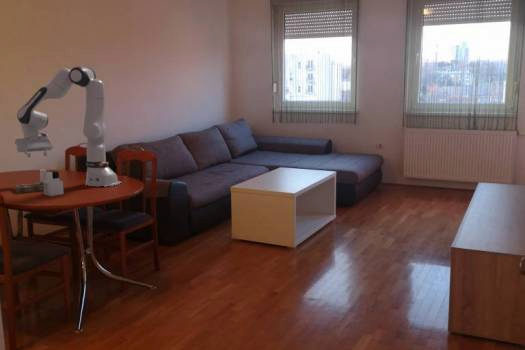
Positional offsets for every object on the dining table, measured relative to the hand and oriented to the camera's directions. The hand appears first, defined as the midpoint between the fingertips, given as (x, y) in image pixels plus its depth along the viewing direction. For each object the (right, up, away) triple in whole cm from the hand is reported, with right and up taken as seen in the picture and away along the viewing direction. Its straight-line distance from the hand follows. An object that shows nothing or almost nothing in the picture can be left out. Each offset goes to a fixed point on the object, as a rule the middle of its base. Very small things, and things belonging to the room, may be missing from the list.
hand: (37, 155), depth 320 cm
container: (+18, -23, -21) cm, 36 cm away
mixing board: (+3, -20, -9) cm, 22 cm away
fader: (+7, -17, -7) cm, 19 cm away
